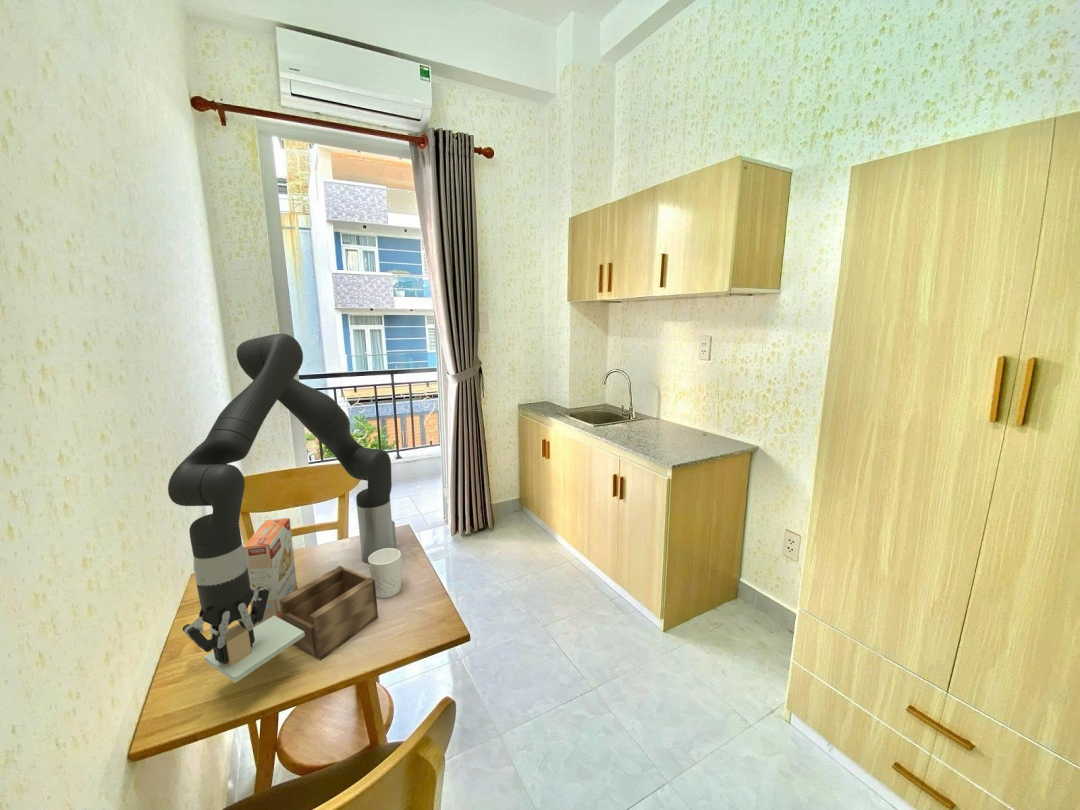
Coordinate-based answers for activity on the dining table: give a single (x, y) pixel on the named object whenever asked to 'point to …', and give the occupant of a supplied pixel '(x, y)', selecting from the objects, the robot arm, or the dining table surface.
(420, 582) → the dining table surface
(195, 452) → the robot arm
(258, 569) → the cracker box
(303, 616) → the walnut box
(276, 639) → the lid
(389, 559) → the white cup
